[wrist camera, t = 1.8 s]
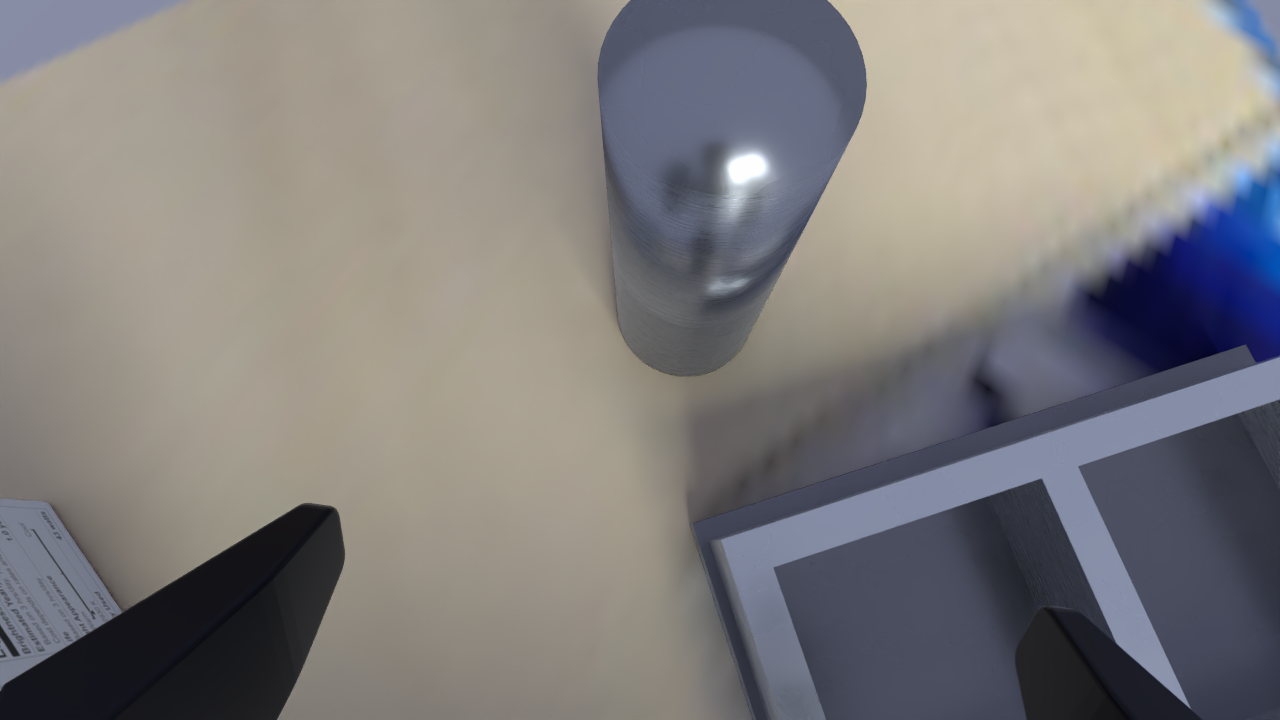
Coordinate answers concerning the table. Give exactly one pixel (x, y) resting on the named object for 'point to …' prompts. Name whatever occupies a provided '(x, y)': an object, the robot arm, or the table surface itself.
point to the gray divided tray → (1022, 557)
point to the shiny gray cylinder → (717, 161)
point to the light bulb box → (43, 588)
